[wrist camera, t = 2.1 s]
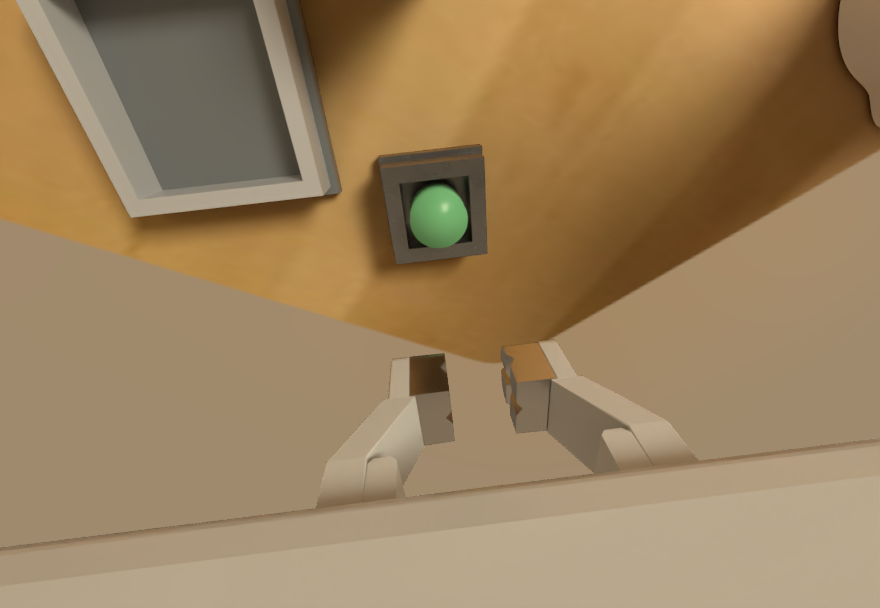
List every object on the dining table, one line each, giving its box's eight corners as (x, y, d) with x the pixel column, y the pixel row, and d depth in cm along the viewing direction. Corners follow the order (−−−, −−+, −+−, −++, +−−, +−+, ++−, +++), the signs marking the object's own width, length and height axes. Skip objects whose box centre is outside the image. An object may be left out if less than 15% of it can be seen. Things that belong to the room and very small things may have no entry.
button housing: (479, 144, 25) (488, 151, 22) (483, 239, 29) (491, 257, 26) (378, 155, 25) (374, 164, 22) (394, 250, 29) (392, 268, 26)
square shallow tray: (286, -55, 20) (264, -82, 17) (341, 190, 26) (333, 202, 23) (43, -30, 20) (-24, -52, 17) (159, 210, 26) (126, 226, 23)
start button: (461, 179, 24) (466, 188, 22) (464, 232, 26) (469, 244, 24) (406, 185, 24) (406, 195, 22) (413, 238, 26) (414, 251, 24)
